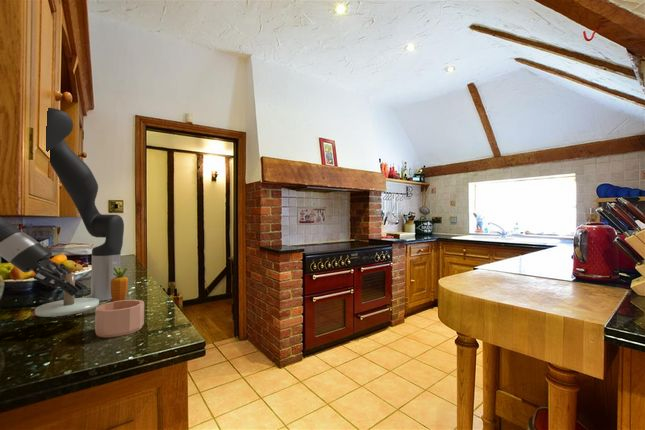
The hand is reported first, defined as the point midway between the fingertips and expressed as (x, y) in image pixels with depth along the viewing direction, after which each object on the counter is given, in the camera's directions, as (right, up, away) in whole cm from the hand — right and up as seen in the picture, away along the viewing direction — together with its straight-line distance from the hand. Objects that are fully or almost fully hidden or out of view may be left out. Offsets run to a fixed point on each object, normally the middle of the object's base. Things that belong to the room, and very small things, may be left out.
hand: (78, 291), depth 85 cm
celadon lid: (-2, -5, -1) cm, 5 cm away
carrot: (+2, -10, +14) cm, 18 cm away
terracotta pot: (+15, -10, -4) cm, 18 cm away
